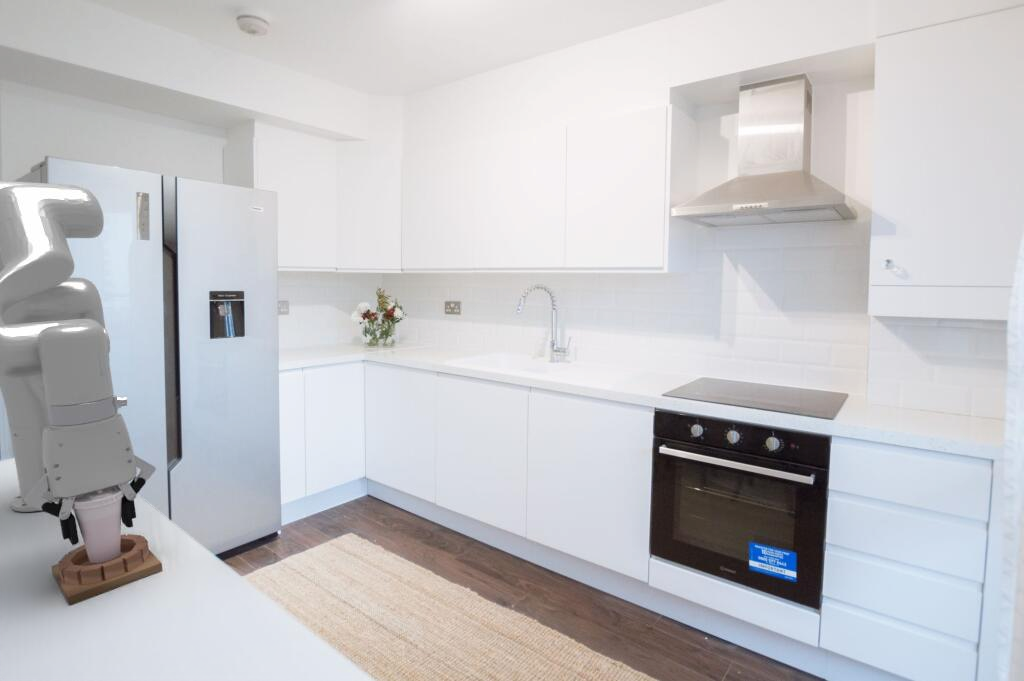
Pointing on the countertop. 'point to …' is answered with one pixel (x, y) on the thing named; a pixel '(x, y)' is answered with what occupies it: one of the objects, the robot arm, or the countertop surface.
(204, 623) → the countertop surface
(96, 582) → the ring board
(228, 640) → the countertop surface
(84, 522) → the smoothie
